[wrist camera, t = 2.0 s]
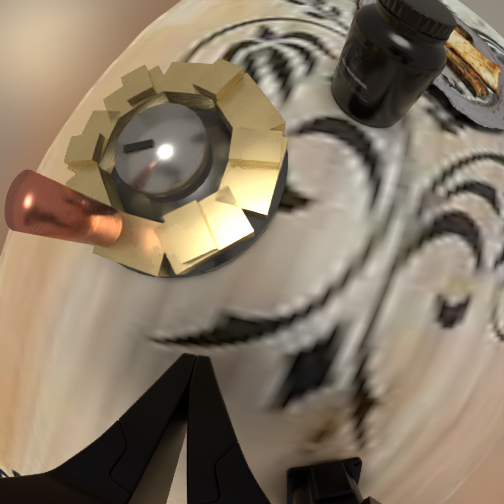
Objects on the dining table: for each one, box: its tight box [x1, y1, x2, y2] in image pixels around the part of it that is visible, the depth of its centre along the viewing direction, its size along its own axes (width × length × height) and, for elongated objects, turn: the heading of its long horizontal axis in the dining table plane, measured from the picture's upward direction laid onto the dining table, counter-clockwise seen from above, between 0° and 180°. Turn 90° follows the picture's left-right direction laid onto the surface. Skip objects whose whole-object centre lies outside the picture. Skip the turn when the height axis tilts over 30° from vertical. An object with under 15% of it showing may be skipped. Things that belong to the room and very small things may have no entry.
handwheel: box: [5, 58, 289, 277], centre depth 13 cm, size 15×15×10 cm
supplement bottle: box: [332, 0, 457, 127], centre depth 13 cm, size 7×7×12 cm
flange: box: [111, 103, 288, 278], centre depth 17 cm, size 16×16×5 cm
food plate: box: [356, 0, 504, 130], centre depth 18 cm, size 25×23×4 cm
